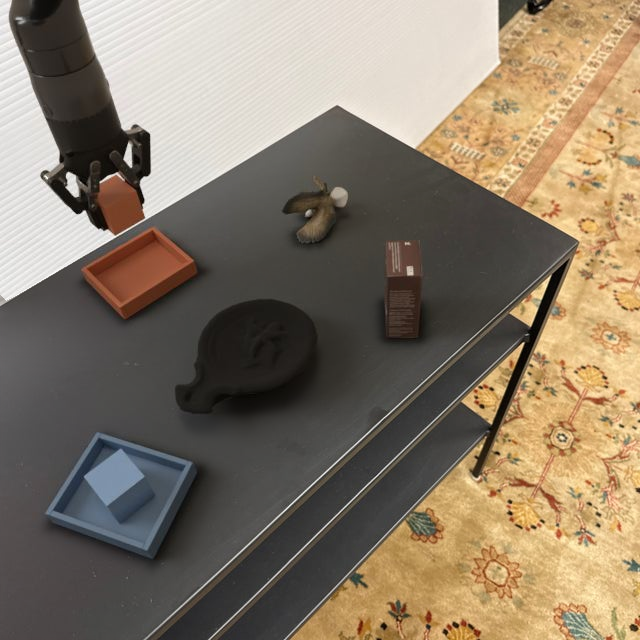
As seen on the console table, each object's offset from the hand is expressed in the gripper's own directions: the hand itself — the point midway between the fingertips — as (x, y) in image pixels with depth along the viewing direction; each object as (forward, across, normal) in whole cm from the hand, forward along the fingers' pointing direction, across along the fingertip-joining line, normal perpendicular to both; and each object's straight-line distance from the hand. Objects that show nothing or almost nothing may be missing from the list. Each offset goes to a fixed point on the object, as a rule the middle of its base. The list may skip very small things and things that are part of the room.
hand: (119, 216), depth 83 cm
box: (+12, -20, +32) cm, 39 cm away
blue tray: (+11, +20, +27) cm, 35 cm away
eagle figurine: (+12, -25, +10) cm, 29 cm away
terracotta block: (0, 0, 0) cm, 0 cm away
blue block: (+11, +20, +27) cm, 35 cm away
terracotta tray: (+11, 0, 0) cm, 11 cm away
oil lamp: (+12, 0, +24) cm, 26 cm away
